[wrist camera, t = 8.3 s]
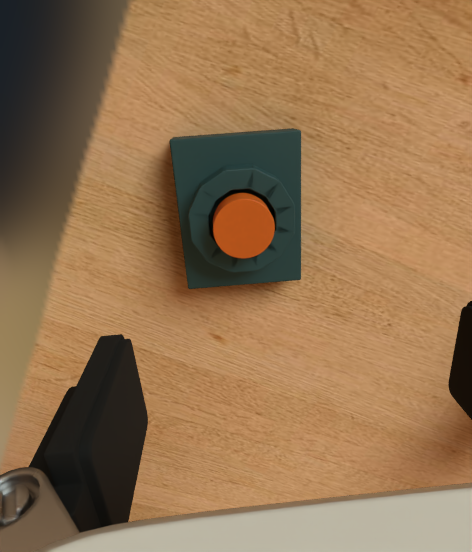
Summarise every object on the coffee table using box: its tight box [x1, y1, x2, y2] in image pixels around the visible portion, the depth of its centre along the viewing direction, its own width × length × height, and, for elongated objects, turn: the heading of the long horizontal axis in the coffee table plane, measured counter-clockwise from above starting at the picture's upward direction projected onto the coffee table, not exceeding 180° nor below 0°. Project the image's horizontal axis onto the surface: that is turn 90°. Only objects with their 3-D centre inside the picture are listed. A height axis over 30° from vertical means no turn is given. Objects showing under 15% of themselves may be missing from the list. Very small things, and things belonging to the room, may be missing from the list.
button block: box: [170, 129, 301, 289], centre depth 26 cm, size 10×8×4 cm
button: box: [213, 193, 275, 258], centre depth 24 cm, size 4×4×2 cm
